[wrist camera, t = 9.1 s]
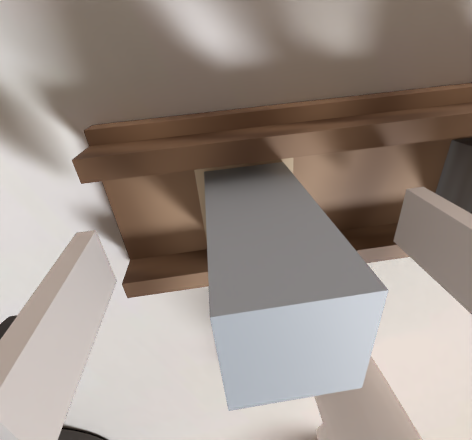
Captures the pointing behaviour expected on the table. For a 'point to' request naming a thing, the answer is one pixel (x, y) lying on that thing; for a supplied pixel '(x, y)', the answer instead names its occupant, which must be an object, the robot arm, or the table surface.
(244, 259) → the block
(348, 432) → the mug
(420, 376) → the table surface
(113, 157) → the rail
